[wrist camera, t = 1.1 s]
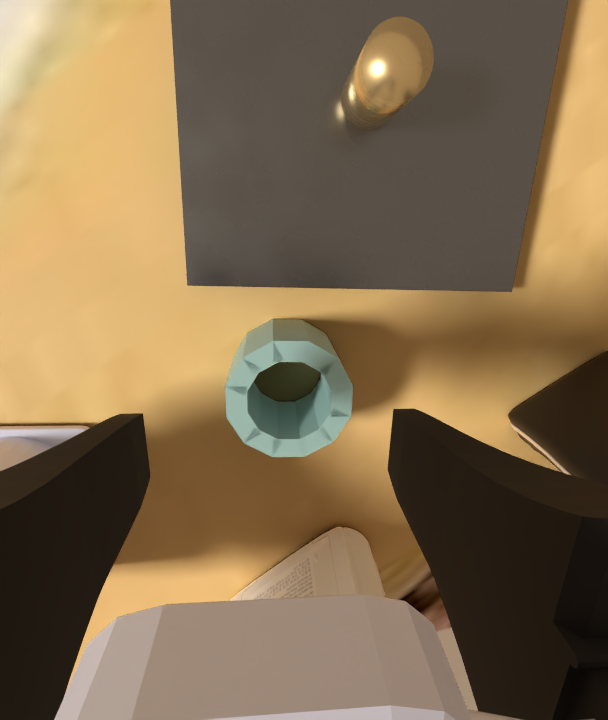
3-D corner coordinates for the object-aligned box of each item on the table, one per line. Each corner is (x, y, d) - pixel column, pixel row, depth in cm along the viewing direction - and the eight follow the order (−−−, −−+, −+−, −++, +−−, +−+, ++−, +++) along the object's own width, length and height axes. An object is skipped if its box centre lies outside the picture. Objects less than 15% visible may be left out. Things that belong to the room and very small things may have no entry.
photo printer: (259, 636, 27) (250, 952, 15) (215, 601, 26) (167, 916, 14) (383, 552, 25) (478, 831, 14) (342, 511, 24) (409, 779, 12)
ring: (334, 416, 22) (348, 456, 18) (235, 416, 22) (227, 458, 18) (340, 320, 20) (356, 341, 17) (232, 318, 20) (223, 340, 16)
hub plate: (494, 287, 20) (571, 308, 15) (193, 280, 19) (164, 301, 14) (564, -101, 16) (710, -262, 10) (170, -142, 14) (113, -348, 9)
